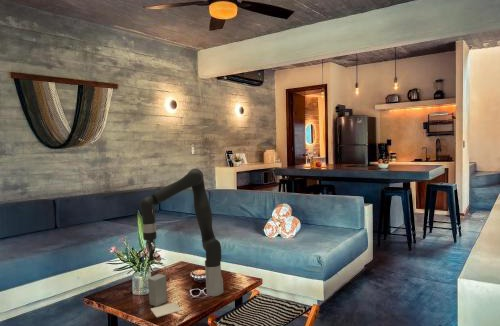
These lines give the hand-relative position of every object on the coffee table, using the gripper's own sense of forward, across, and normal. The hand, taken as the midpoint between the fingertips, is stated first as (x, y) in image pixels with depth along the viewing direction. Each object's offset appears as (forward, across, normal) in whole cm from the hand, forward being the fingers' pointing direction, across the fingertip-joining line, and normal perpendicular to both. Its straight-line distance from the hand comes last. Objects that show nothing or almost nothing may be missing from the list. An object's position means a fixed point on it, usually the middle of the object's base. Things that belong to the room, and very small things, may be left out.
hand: (151, 260), depth 224 cm
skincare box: (+23, -10, 0) cm, 25 cm away
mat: (+23, -21, -1) cm, 31 cm away
